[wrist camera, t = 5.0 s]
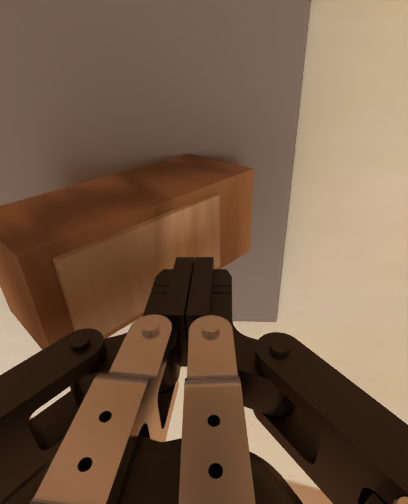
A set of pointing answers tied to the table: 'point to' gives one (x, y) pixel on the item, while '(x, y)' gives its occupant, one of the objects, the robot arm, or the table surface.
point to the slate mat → (158, 104)
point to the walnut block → (117, 241)
